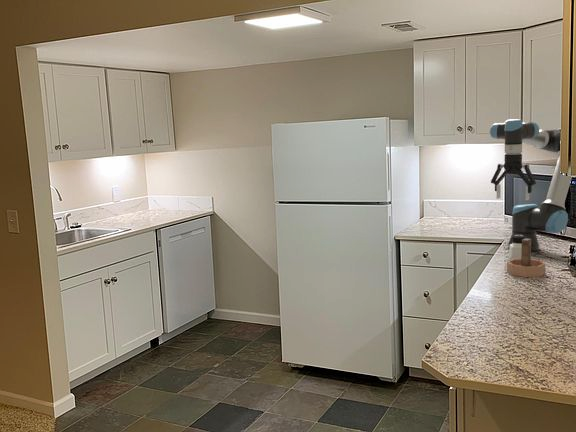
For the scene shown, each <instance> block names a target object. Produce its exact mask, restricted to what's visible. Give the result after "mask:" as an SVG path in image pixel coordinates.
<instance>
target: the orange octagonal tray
mask: <svg viewBox="0 0 576 432" xmlns="http://www.w3.org/2000/svg"><path fill="white" fill-rule="evenodd" d="M519 265H521V259H512V260H510V259H509V260H507V261H506V272H507V273H508V274H510V275H512V276H515V277H522V278H523V277H524V278H537V277H538V278H540V277H542V276H543V275H545V274H546V263H545V262H543V261H542V260H541V259H540V260H539V259H538V260H537V259H533V258H532V259H531V263H530V265H535V266H519Z"/></svg>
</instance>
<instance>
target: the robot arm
mask: <svg viewBox="0 0 576 432" xmlns="http://www.w3.org/2000/svg"><path fill="white" fill-rule="evenodd" d="M560 130H561V129H549V130H547V129H540V126H539V125H538V124H537V123H536V122H532V121H528V122H523V120H522V119H520V118H519V119H507V120H506V121H504V122H503V123H502V122H498V123H497V122H496V123H493V124H492V125H491V126H490V130H489V135H490V137H491V138H492V139H497V140H500V139H501V140H504V153H505V154H504V163H498V164H497V168H496V170H495V173H494V174H493V176H492V178H491V180H490V183H491V184H493V185H494V191H495V192H496V199H498V200H499V199H501V186H502V185H501V184H500V183H501V181H502V180H504V178H505V177H506V176H507V175H508V174H509V175H511V174H512V175H518V176H519V177H520V178H521V180H522V181H523V182H524V183H525V184H526V186H525V201H529V200H530V194H531V193H532V192H533V190H532V189H533V188H532V187H533V186H535V185H536V184H537V182H536V180H535V177H534V175H533V173H532V172H531V169H530V164H529V163H527V164H523V144H526V145H529V146H530V145H531V146H533V147H534V148H536V149H539V150H543V151H546V152H550V153H551V152H552V153H556V155H557V157H558V158H557V161H556V164H555V165H556V166H555V169H554V172H553V175H552V179H551V182H550V184H549V187H548V191H547V193H546V194H547V195H546V197H545V198H546V199H545V200H544V201H543V202H541V203H540V207H538V204H537V203H527V204H517V205H514V206H513V208H512V213H511V215H512V218H511V219H512V220H511V221H512V222H511V235H510V238H509V241H508V243H507V248H508V249H509V250H510V244H512V237H513V236H514V235H523V236H525V237H526V238H527V239H531V252H536V251H539V250H540V243H539V240H538V236H537V232H542V233H548V234H559V233H561V232H563V231H564V230H565V229H566V227H567V224H568V222H569V214H568V212H567V211H566V210H567V209H566V207H565V203H566V199H567V195H568V192H569V188H570V185H571V181H572V177H573V176H572V177H571V176H566V175H563V174H561V173H560ZM502 169H504V171H503V172H502V173H501V171H502ZM522 169H524V171H525V173H526V175H527V176H526V175H525V173H524V171H523V170H522ZM500 173H501V174H500Z"/></svg>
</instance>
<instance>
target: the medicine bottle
mask: <svg viewBox="0 0 576 432" xmlns="http://www.w3.org/2000/svg"><path fill="white" fill-rule="evenodd" d="M525 238H526V237H525V236H523V235H514V236H513V237H512V244H510V249H509V253H508V254H509V261H510V260H512V259H521V252H522V240H523V239H525Z"/></svg>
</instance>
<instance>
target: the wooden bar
mask: <svg viewBox="0 0 576 432" xmlns="http://www.w3.org/2000/svg"><path fill="white" fill-rule="evenodd" d="M531 257H532V251H531V239H527V238H525V239H523V240H522V252H521V266H530V263H531Z"/></svg>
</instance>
